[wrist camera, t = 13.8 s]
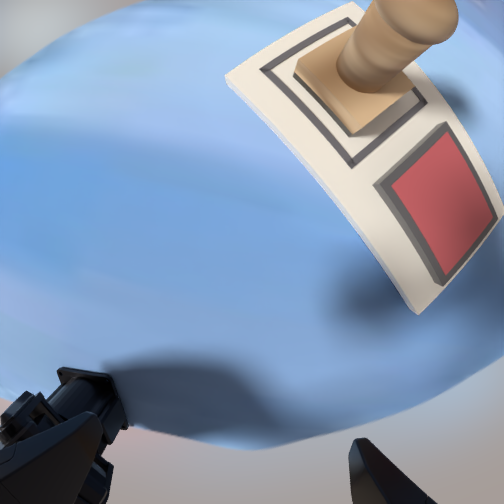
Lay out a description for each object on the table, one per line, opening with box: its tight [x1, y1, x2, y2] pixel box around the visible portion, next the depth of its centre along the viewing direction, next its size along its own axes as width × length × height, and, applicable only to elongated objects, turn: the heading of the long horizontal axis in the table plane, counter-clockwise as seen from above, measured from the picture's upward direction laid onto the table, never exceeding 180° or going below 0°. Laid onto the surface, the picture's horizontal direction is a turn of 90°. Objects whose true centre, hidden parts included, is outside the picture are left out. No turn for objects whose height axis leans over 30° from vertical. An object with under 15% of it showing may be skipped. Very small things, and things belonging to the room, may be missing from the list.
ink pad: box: [372, 121, 498, 287], centre depth 17 cm, size 9×8×1 cm
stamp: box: [293, 0, 458, 137], centre depth 11 cm, size 6×6×12 cm
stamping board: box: [225, 1, 504, 315], centre depth 18 cm, size 22×13×2 cm, turn 41°
